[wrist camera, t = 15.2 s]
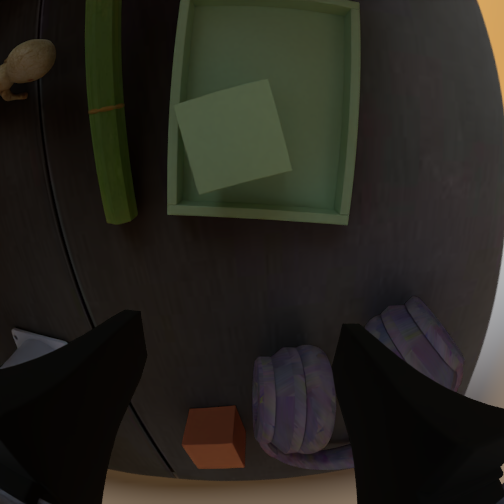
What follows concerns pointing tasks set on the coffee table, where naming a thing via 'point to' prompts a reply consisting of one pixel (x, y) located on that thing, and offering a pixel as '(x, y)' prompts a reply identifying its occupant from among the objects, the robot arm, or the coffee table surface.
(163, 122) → the coffee table surface
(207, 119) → the sage block
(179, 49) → the sage tray
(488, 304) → the coffee table surface
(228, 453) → the terracotta block
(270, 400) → the headphones
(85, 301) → the coffee table surface
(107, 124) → the decorative plant
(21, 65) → the figurine
